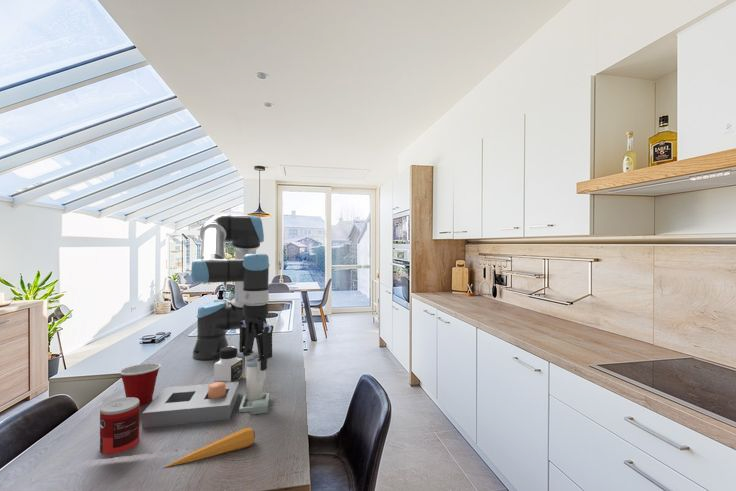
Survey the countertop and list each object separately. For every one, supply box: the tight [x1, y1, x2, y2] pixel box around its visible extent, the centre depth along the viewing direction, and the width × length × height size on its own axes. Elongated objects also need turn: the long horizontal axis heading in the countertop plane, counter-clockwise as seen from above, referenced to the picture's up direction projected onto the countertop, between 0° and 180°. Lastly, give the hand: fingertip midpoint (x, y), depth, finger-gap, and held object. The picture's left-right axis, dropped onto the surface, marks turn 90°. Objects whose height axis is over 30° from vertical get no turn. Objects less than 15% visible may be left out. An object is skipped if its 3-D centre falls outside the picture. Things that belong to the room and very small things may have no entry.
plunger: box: [208, 381, 227, 399], centre depth 100 cm, size 5×5×6 cm
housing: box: [141, 381, 240, 429], centre depth 98 cm, size 16×22×5 cm
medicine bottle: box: [213, 345, 243, 383], centre depth 122 cm, size 7×7×12 cm
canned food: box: [99, 396, 141, 458], centre depth 81 cm, size 8×8×11 cm
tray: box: [238, 392, 270, 415], centre depth 102 cm, size 9×8×2 cm
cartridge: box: [245, 357, 264, 401], centre depth 102 cm, size 5×5×11 cm
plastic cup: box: [118, 362, 161, 407], centre depth 102 cm, size 11×11×12 cm
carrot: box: [163, 427, 256, 469], centre depth 79 cm, size 20×4×4 cm, turn 120°
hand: (255, 377), depth 102 cm, fingers closed on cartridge, 5 cm apart
